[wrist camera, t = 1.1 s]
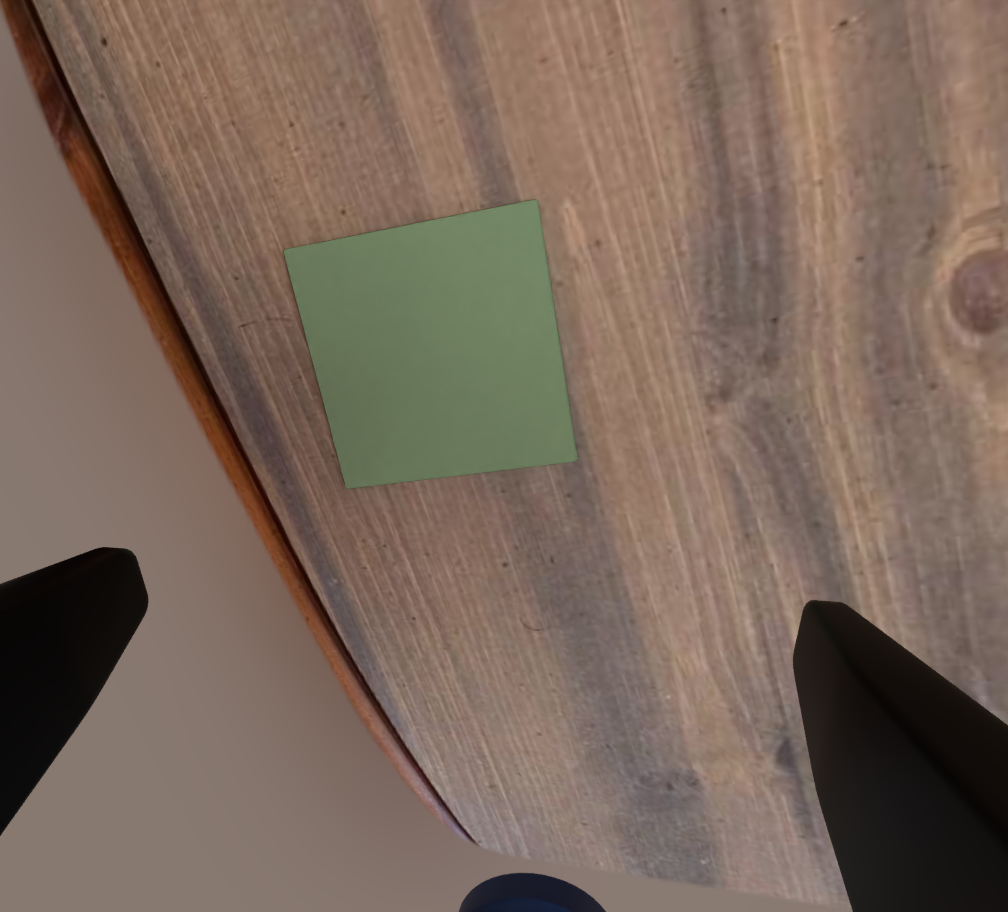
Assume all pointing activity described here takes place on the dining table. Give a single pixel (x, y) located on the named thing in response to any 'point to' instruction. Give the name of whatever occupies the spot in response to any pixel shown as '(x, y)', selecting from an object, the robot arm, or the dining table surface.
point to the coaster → (437, 347)
